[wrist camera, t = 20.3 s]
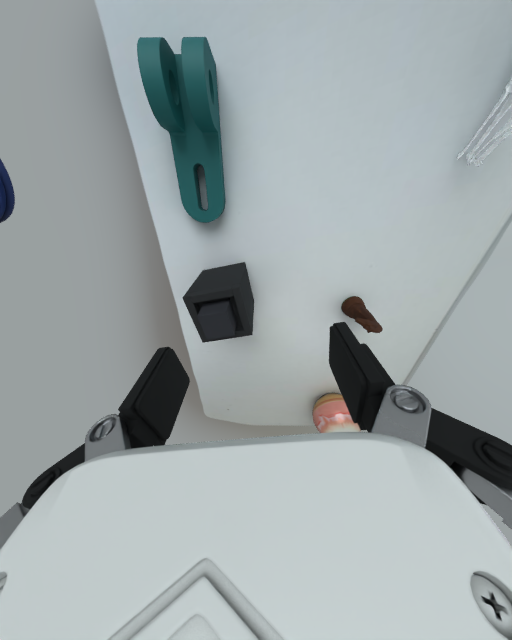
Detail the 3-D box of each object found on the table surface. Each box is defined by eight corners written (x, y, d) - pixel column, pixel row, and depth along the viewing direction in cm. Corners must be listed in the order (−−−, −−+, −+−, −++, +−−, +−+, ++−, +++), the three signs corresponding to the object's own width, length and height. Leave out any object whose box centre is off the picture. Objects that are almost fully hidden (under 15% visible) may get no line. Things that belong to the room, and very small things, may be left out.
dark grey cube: (203, 303, 31) (196, 316, 28) (230, 298, 31) (226, 311, 27) (212, 325, 34) (207, 340, 30) (236, 321, 33) (234, 335, 30)
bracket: (163, 64, 25) (128, 17, 18) (215, 64, 25) (199, 17, 18) (189, 220, 35) (173, 227, 28) (226, 221, 35) (219, 227, 28)
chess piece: (347, 294, 42) (369, 318, 34) (368, 298, 43) (394, 324, 34) (337, 311, 45) (356, 338, 36) (357, 315, 45) (380, 343, 37)
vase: (315, 383, 58) (334, 447, 44) (358, 387, 59) (392, 451, 44) (304, 409, 66) (317, 471, 51) (343, 412, 67) (367, 474, 52)
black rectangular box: (202, 270, 40) (182, 297, 29) (244, 262, 39) (239, 287, 28) (216, 307, 44) (202, 342, 34) (254, 301, 43) (252, 335, 33)
